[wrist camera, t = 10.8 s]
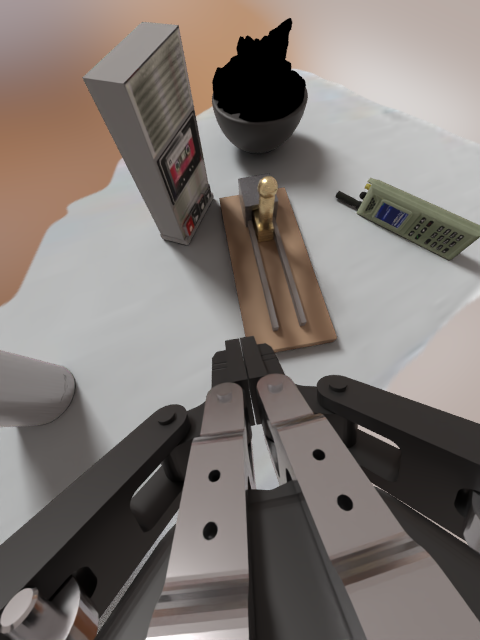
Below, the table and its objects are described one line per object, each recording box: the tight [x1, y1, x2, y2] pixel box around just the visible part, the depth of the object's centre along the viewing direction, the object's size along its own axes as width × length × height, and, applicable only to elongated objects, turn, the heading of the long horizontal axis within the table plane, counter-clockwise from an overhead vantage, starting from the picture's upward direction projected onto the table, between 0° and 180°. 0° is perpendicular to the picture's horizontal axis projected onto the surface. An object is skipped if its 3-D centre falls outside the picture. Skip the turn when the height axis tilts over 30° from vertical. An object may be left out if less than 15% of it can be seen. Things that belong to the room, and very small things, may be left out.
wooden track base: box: [219, 187, 337, 353], centre depth 43 cm, size 14×34×4 cm, turn 10°
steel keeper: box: [238, 174, 278, 227], centre depth 45 cm, size 6×7×5 cm
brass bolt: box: [252, 176, 278, 243], centre depth 40 cm, size 3×8×12 cm, turn 10°
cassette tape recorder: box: [83, 22, 214, 245], centre depth 39 cm, size 14×6×25 cm, turn 160°
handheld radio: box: [336, 178, 480, 260], centre depth 44 cm, size 7×3×25 cm
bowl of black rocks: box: [212, 18, 308, 153], centre depth 49 cm, size 20×20×19 cm
